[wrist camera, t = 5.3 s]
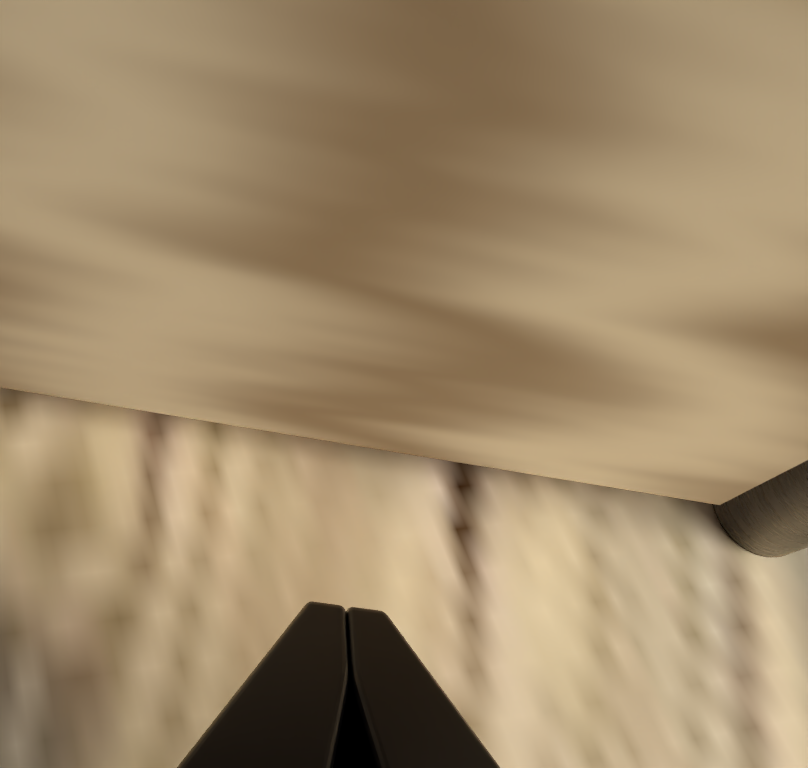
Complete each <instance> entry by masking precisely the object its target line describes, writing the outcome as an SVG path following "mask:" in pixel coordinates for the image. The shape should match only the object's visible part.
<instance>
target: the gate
mask: <svg viewBox="0 0 808 768" xmlns="http://www.w3.org/2000/svg"><path fill="white" fill-rule="evenodd" d="M0 387H1V388H7V389H13V390H19V391H25V392H31V393H37V394H44V395H50V396H56V397H62V398H68V399H74V400H80V401H86V402H92V403H99V404H105V405H111V406H117V407H123V408H129V409H135V410H141V411H147V412H154V413H160V414H166V415H172V416H178V417H184V418H190V419H196V420H202V421H209V422H215V423H221V424H227V425H233V426H239V427H245V428H251V429H258V430H264V431H270V432H276V433H282V434H288V435H294V436H300V437H306V438H313V439H319V440H325V441H331V442H337V443H343V444H349V445H355V446H361V447H368V448H374V449H380V450H386V451H392V452H398V453H404V454H410V455H416V456H423V457H429V458H435V459H441V460H447V461H453V462H459V463H465V464H471V465H478V466H484V467H490V468H496V469H502V470H508V471H514V472H520V473H527V474H533V475H539V476H545V477H551V478H557V479H563V480H569V481H575V482H582V483H588V484H594V485H600V486H606V487H612V488H618V489H624V490H630V491H637V492H643V493H649V494H655V495H661V496H667V497H673V498H679V499H685V500H692V501H698V502H704V503H710V504H716V505H721V504H723V503H725V502H727V501H729V500H731V499H733V498H734V497H736V496H738V495H740V494H742V493H744V492H746V491H748V490H750V489H752V488H754V487H756V486H758V485H760V484H762V483H764V482H766V481H768V480H770V479H772V478H774V477H776V476H778V475H779V474H781V473H783V472H785V471H787V470H789V469H791V468H793V467H795V466H797V465H799V464H801V463H803V462H805V461H807V460H808V0H0Z"/></svg>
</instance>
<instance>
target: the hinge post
mask: <svg viewBox="0 0 808 768" xmlns="http://www.w3.org/2000/svg"><path fill="white" fill-rule="evenodd" d="M714 508H715V511H716V514H717V517H718V519H719V521H720V523H721V524H722V526H723V528H724V529H725V530H726V532H727V533H728V534H729V535H730V536H731V537H732V538H733V540H735V541H736V542H737V543H738V544H739V545H741V546H742V547H744V548H745V549H747V550H749V551H750V552H753V553H755V554H757V555H761V556H765V557H781V556H785V555H787V554H790V553H793V552H796V551H799V550H801V549H804V548H807V547H808V460H807V461H805V462H803V463H801V464H799V465H797V466H795V467H793V468H791V469H789V470H787V471H785V472H783V473H781V474H779V475H778V476H776V477H774V478H772V479H770V480H768V481H766V482H764V483H762V484H760V485H758V486H756V487H754V488H752V489H750V490H748V491H746V492H744V493H742V494H740V495H738V496H736V497H734V498H733V499H731V500H729V501H727V502H725V503H723V504H721V505H716V504H714Z"/></svg>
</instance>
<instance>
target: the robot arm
mask: <svg viewBox="0 0 808 768" xmlns="http://www.w3.org/2000/svg"><path fill="white" fill-rule="evenodd" d="M177 768H500V767H499V765H498V764H497V763H496V761H495V760H494V759H493V757H492V756H491V755H490V753H489V752H488V751H487V749H486V748H485V747H484V745H483V744H482V743H481V741H480V740H479V738H478V737H477V736H476V734H475V733H474V732H473V730H472V729H471V728H470V726H469V725H468V724H467V722H466V721H465V720H464V718H463V717H462V716H461V714H460V713H459V711H458V710H457V709H456V707H455V706H454V705H453V703H452V702H451V701H450V699H449V698H448V697H447V695H446V694H445V693H444V691H443V690H442V689H441V687H440V686H439V684H438V683H437V682H436V680H435V679H434V678H433V676H432V675H431V674H430V672H429V671H428V670H427V668H426V667H425V666H424V664H423V663H422V662H421V660H420V659H419V658H418V656H417V655H416V653H415V652H414V651H413V649H412V648H411V647H410V645H409V644H408V643H407V641H406V640H405V639H404V637H403V636H402V635H401V633H400V632H399V631H398V629H397V628H396V626H395V625H394V624H393V622H392V621H391V620H390V618H389V617H388V616H387V615H386V614H385V613H384V612H382V611H378V610H371V609H363V608H355V607H351V608H349V609H348V610H347V611H345V609H344V608H343V607H342V606H340V605H333V604H326V603H319V602H309V603H307V604H306V605H305V606H304V607H303V608H302V610H301V611H300V612H299V614H298V615H297V616H296V617H295V619H294V620H293V621H292V622H291V624H290V625H289V626H288V627H287V629H286V630H285V631H284V633H283V634H282V635H281V636H280V638H279V639H278V640H277V641H276V643H275V644H274V645H273V647H272V648H271V649H270V650H269V652H268V653H267V654H266V655H265V657H264V658H263V659H262V660H261V662H260V663H259V664H258V666H257V667H256V668H255V669H254V671H253V672H252V673H251V674H250V676H249V677H248V678H247V680H246V681H245V682H244V683H243V685H242V686H241V687H240V688H239V690H238V691H237V692H236V693H235V695H234V696H233V697H232V699H231V700H230V701H229V702H228V704H227V705H226V706H225V707H224V709H223V710H222V711H221V713H220V714H219V715H218V716H217V718H216V719H215V720H214V721H213V723H212V724H211V725H210V726H209V728H208V729H207V730H206V732H205V733H204V734H203V735H202V737H201V738H200V739H199V740H198V742H197V743H196V744H195V746H194V747H193V748H192V749H191V751H190V752H189V753H188V754H187V756H186V757H185V758H184V759H183V761H182V762H181V763H180V765H179V766H178V767H177Z"/></svg>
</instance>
